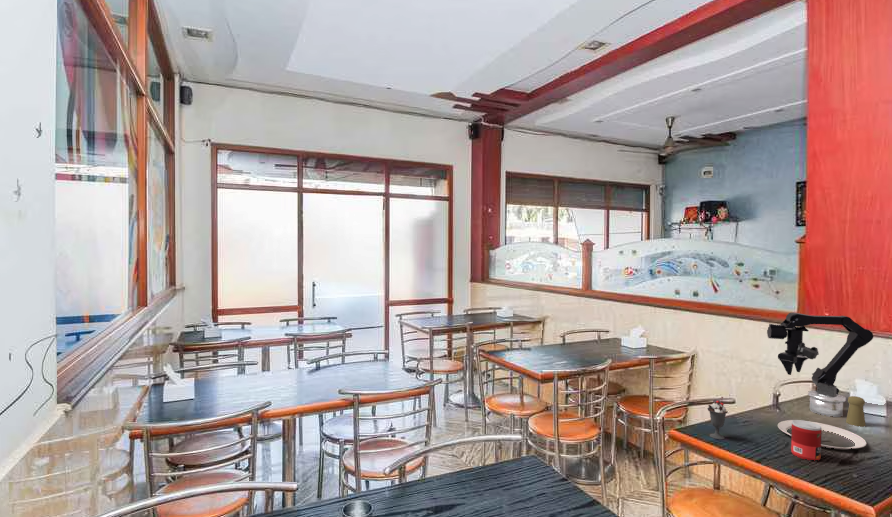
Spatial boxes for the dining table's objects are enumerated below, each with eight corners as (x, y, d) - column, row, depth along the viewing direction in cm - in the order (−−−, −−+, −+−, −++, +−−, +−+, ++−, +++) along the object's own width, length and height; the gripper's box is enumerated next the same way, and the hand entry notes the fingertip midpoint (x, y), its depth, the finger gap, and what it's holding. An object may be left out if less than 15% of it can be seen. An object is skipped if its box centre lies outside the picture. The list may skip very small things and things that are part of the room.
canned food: (822, 463, 149) (823, 430, 149) (792, 457, 153) (793, 425, 153) (818, 454, 155) (819, 422, 155) (789, 449, 160) (790, 418, 159)
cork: (870, 426, 181) (870, 399, 180) (854, 426, 181) (855, 399, 180) (856, 421, 187) (857, 394, 186) (841, 420, 187) (842, 394, 186)
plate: (773, 438, 169) (773, 433, 169) (782, 420, 188) (782, 415, 188) (866, 460, 152) (866, 454, 152) (866, 437, 170) (866, 432, 170)
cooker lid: (815, 391, 205) (815, 379, 205) (850, 399, 194) (851, 386, 194) (802, 395, 198) (802, 383, 198) (838, 404, 188) (839, 390, 188)
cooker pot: (815, 406, 204) (816, 391, 204) (846, 414, 195) (847, 398, 194) (805, 410, 198) (805, 395, 198) (836, 418, 189) (837, 403, 189)
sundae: (729, 436, 170) (730, 397, 170) (725, 442, 165) (726, 401, 165) (709, 431, 174) (710, 393, 174) (704, 436, 169) (705, 397, 169)
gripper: (806, 345, 199) (805, 380, 199) (824, 341, 208) (823, 374, 209) (777, 340, 208) (776, 374, 209) (796, 337, 218) (795, 369, 218)
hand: (793, 373), depth 211 cm, fingers open, 9 cm apart
